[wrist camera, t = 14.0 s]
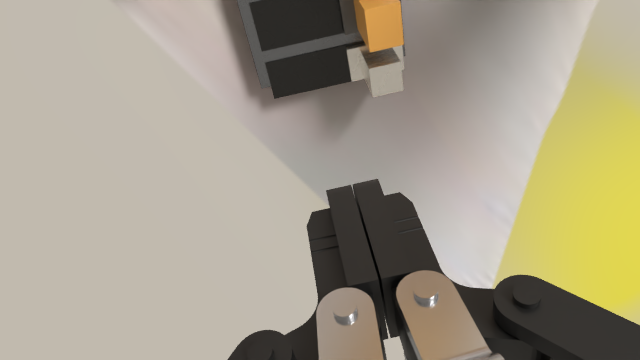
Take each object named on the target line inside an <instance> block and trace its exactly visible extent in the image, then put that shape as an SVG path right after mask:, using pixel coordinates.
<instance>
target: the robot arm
mask: <svg viewBox="0 0 640 360" xmlns="http://www.w3.org/2000/svg"><path fill="white" fill-rule="evenodd" d="M353 191H354V194H353ZM326 192H327V196H328V201H329V205H330V208H328V209H324V210H319V211H315V212H312V214H311V216H310V219H309V222H308V224H307V231H308V236H309V242H310V249H311V255H312V262H313V268H314V274H315V280H316V286H317V293H318V305H317V307H316V310H315V312H314V314H313V315H312V316H311V318H310V319H309V320H308V321H307V322H306V323H304V324H303V325H302V326H300V327H299V328H297V329H295V330H293V331H291V332H290V333H288V334H286V335H283V334H281V333H280V332H277V331H273V330H263V331H258V332H255V333H253V334H251V335H249V336H248V337H246V338H245V339H244V340H243V341H242V342H241V343H240V344H239V345H238V346H237V348H236V349H235V350H234V352H233V353H232V354H231V356H230V357H229V358H228V360H387V359H386V354H385V347H384V342H383V340H384V339H388V334H387V328H386V323H387V326H388V330H389V334H390V337H391V338H393V337H397V336H400V340H401V343H402V346H403V349H404V356H405V360H640V325H638V324H636V323H634V322H631V321H629V320H627V319H625V318H623V317H621V316H618V315H616V314H614V313H612V312H610V311H608V310H606V309H603V308H601V307H599V306H597V305H595V304H593V303H591V302H589V301H587V300H584V299H582V298H580V297H578V296H576V295H574V294H571V293H569V292H567V291H565V290H563V289H561V288H559V287H557V286H555V285H552V284H550V283H548V282H546V281H544V280H542V279H539V278H537V277H534V276H528V275H514V276H510V277H508V278H506V279H504V280H502V281H501V282H500V283H499V284H498V285H497V286H496V288H495V289H483V288H470V287H466V286H462V285H459V284H457V283H455V282H453V281H452V280H450V279H449V278H448V277H447V276H446V275H445V274H444V273H443V272H442V270H441V268H440V266H439V263H438V261H437V259H436V256H435V254H434V252H433V250H432V247H431V245H430V243H429V240H428V238H427V236H426V233H425V231H424V229H423V226H422V224H421V222H420V219H419V218H418V215H417V212H416V210H415V208H414V205H413V203H412V202H411V201H410V200H409V199H407V198H406V197H405V196H404V195H403V194H401V193H400V192H399V193H395V194H390V195H386V196H384V194H383V191H382V189H381V186H380V183H379V181H378V179H375V180H370V181H366V182H361V183H357V184H353V190H352V187H351V185H348V186H344V187H340V188H335V189H331V190H326ZM354 196H355V197H354ZM385 319H386V322H385Z"/></svg>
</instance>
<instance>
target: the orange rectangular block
mask: <svg viewBox="0 0 640 360" xmlns="http://www.w3.org/2000/svg"><path fill="white" fill-rule="evenodd" d="M339 3H340V9H341V16H342V22H343V29H344V34H345V35H348V34H353V33H357V32H360V34H361V36H362V38H363V40H364V42H365V44H366V46H367V48H368V50H369V52H374V51H379V50H383V49H388V48H392V47H397V46H401V45H404V40H403V28H402V16H401V4H400V0H339Z"/></svg>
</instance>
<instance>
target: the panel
mask: <svg viewBox="0 0 640 360" xmlns="http://www.w3.org/2000/svg"><path fill="white" fill-rule="evenodd" d="M237 2H238V6H239V9H240V13H241V16H242V20H243V24H244V27H245V31H246V34H247V38H248V41H249V45H250V48H251V52H252V56H253V59H254V63H255V66H256V70H257V73H258V77H259V80H260V84H261V88H266V87H270V86H271V87H272V91H273V95H274V99H275V98H279V97H284V96H288V95H292V94H297V93H301V92H306V91H310V90H315V89H319V88H323V87H328V86H332V85H337V84H341V83H346V82H350V81H352V82H353V81H358V80H362V79H365V82H366V84H367V86H368V88H369V90H370V93H371V95H372V97H377V96H382V95H386V94H391V93H395V92H400V91H404V90H403V78H402V70H404V60H403V56H405V48H404V45H401V46H397V47H392V48H388V49H383V50H379V51H374V52H369V50H368V48H367V46H366V44H365V42H364V40H363V38H362V36H361V34H360V32H357V33H353V34H348V35H345V34H344V29H343V22H342V16H341V9H340V3H339V0H237ZM400 4H401V0H400ZM401 16H402V11H401ZM402 28H403V23H402ZM403 40H404V36H403Z"/></svg>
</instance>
